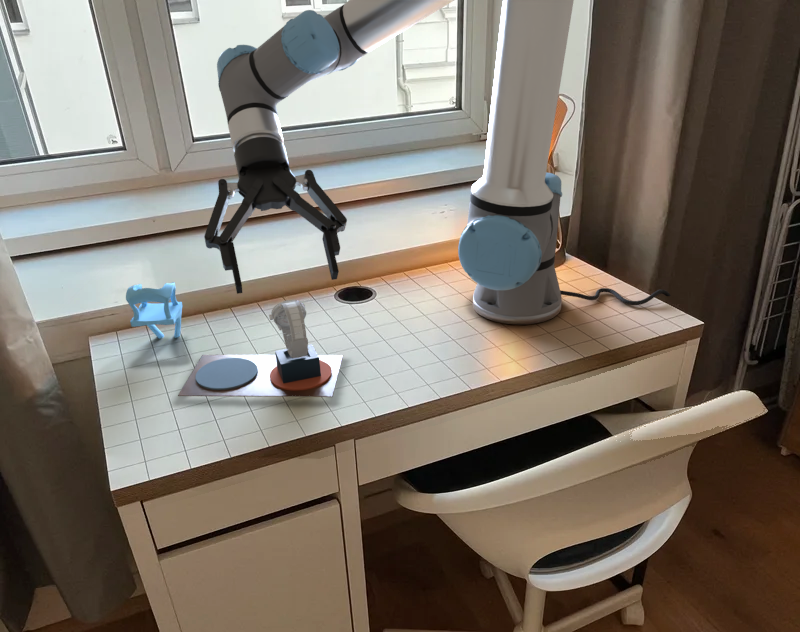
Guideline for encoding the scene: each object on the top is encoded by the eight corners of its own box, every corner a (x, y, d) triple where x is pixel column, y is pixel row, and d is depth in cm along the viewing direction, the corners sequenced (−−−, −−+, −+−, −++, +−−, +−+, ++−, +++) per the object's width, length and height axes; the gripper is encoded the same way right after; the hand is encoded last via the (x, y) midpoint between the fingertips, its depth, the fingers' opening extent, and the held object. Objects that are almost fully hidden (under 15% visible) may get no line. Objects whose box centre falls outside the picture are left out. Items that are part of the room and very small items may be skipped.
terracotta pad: (335, 359, 107) (335, 357, 107) (327, 390, 99) (326, 389, 99) (276, 359, 107) (276, 357, 107) (264, 390, 100) (263, 388, 100)
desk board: (343, 361, 109) (343, 354, 108) (333, 403, 99) (332, 396, 98) (203, 361, 110) (202, 354, 109) (179, 402, 100) (177, 395, 99)
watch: (310, 356, 107) (303, 289, 101) (324, 381, 101) (317, 311, 95) (274, 363, 106) (264, 295, 100) (285, 389, 99) (275, 318, 93)
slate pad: (263, 359, 108) (263, 357, 107) (250, 390, 100) (249, 388, 100) (205, 359, 108) (205, 357, 108) (187, 390, 100) (187, 388, 100)
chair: (195, 338, 117) (181, 270, 110) (185, 363, 110) (169, 291, 103) (147, 341, 116) (131, 272, 110) (135, 366, 109) (116, 294, 103)
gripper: (339, 155, 110) (369, 280, 106) (174, 172, 104) (199, 305, 100) (344, 126, 103) (377, 259, 99) (168, 142, 97) (195, 284, 93)
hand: (288, 282), depth 99 cm, fingers open, 13 cm apart
